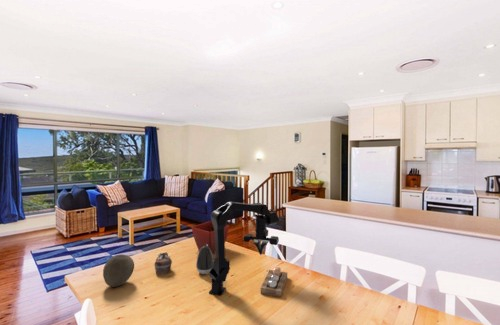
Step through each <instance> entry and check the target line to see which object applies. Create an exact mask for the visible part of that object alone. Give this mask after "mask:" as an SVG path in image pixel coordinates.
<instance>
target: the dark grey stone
mask: <svg viewBox="0 0 500 325" xmlns="http://www.w3.org/2000/svg"><path fill="white" fill-rule="evenodd" d="M134 270H135V262H134V260H133V258H132V257H131V256H129V255H126V254H115V255H113V256H111V257H110V258H109V259H108V260H107V261H106V263H105V265H104V267H103V272H102V277H103V280H104V282H105V284H106V285H107V286H110V287H114V288H115V287H116V288H117V287H120V286H122V285H123V284H125V283H126V282H127V281H128V280H129V279H130V278H131V276H132V275H133V272H134Z"/></svg>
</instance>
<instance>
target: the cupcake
mask: <svg viewBox="0 0 500 325" xmlns="http://www.w3.org/2000/svg"><path fill="white" fill-rule="evenodd" d="M172 263H173V261H172V259H171V256H170V255H169V253H168V252H162V253H158V254H157V257H156V259H155V262H154V264H153V265H154V269H155V272H156V274H157V275H166V274H168V273H170V272H171V269H172Z"/></svg>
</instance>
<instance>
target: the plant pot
mask: <svg viewBox="0 0 500 325" xmlns="http://www.w3.org/2000/svg"><path fill="white" fill-rule="evenodd" d="M229 227H230V225H229V224H226V226H225V228H224V241H225V242H226V241H227V237H228V234H229ZM191 232H192V235H193V239H194V242H195V245H196V247H197V249H198V251H200V249H201V248H202V247H203V246H206V245H207V244H208V247H209V248H210V250H211V252H212V254H214V253H216V251H215V229H214V227H213V224H212V221H211V220H210V221H206V222H203V223H200V224H197V225H194V226H193V225H192V226H191Z"/></svg>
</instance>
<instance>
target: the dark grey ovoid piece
mask: <svg viewBox="0 0 500 325" xmlns="http://www.w3.org/2000/svg"><path fill="white" fill-rule="evenodd" d="M214 260H215V258H214V254H213V253H212V252H211V250H210V248H209V247H208V244H207V245H206V246H203V247H202V248H201V249H200V250H198V254H197V258H196V264H195V267H196V270H197V272H198V273H199V274H201V275H207V274H208V275H209V272H210V270H211V269H212V268H213V264H214Z"/></svg>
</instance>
